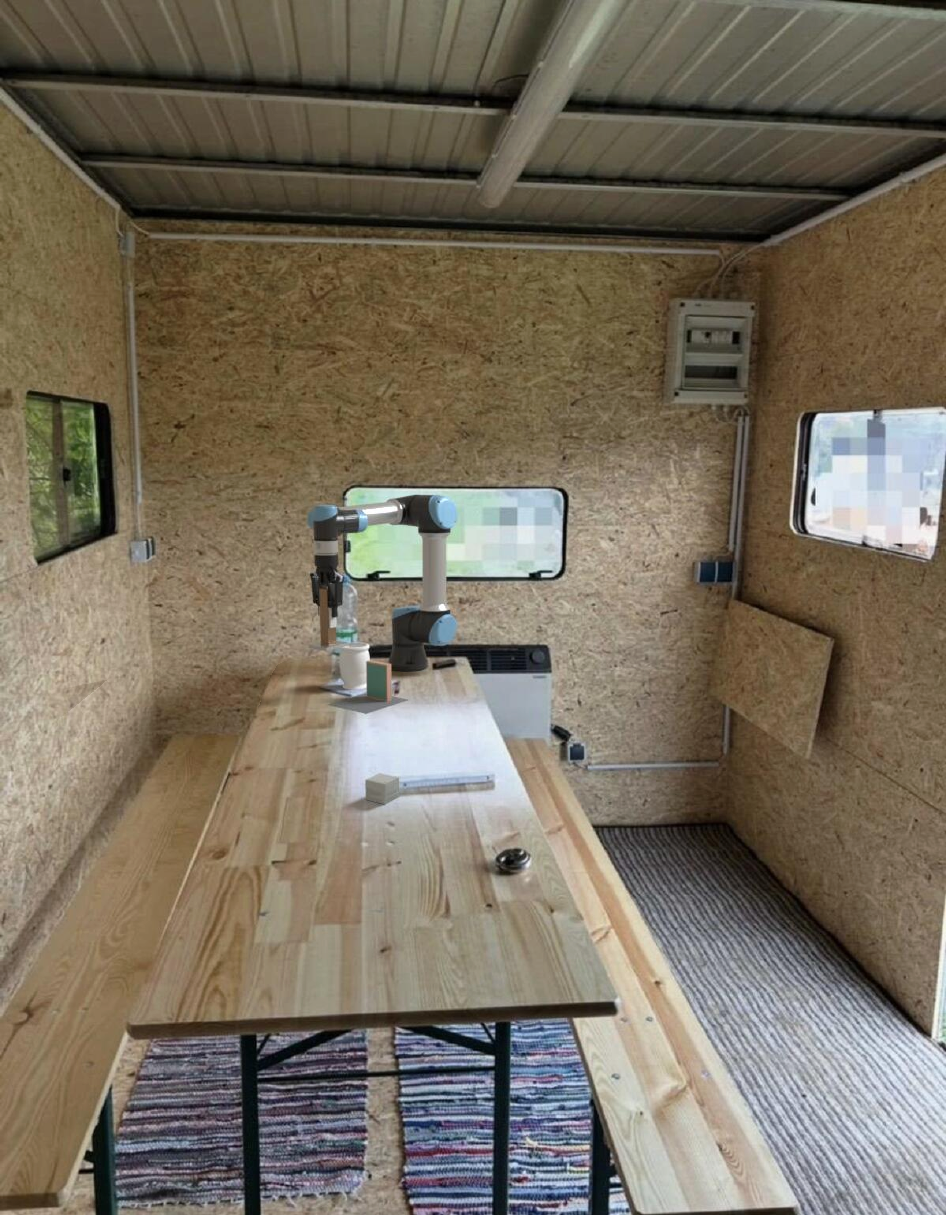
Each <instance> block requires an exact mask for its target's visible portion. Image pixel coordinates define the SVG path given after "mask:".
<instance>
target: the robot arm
mask: <svg viewBox="0 0 946 1215" xmlns="http://www.w3.org/2000/svg"><path fill="white" fill-rule="evenodd" d="M457 509H458V508H457V506H456V504H455V502H454V501H453V500H452V499H451V498H450V497H449V496H445V495H440V494H410V495H405V496H401V497H395V498H389V499H387V500H386V501H384V502H375V503H366V504H357V505H348V506H337V505H335V504H317V505H315V506H313V509H311V510H310V511H309V512H308V514H307V517H306V518H307V519H306V520H307V526H308V527H309V528H310V529H311V530H313V551H314V553H315V554H314V558H313V559H314V560H313V562H314V566H315V567H316V569H315V571H314V572H310V573H309V577H310V581H311V591H312V596H311V597H312V603H313V604H316V606H317V614H318V616H319V619H320V596H319V589H320V588H327V587H328V594H329V600H330V606H329V628H333V627H336V628H337V627H338V624H337V622H338V621H337V618H338V610H339V609H338V608H339V607H341V606H343V603H344V602H343V598H344V596H343V595H344V593H343V592H344V588H343V587H344V580H345V575H344V574H340V573H339V570H338V569H337V568H338V566H339V555H338V554H337V553H339V539H338V538H339V535H345V534H358V533H359V534H360V533H363V532H365V531H367V529H368V526H370V527H371V526H378V525H385V524H386V525H387V524H389V525H390V526H408V527H409V526H410V527H415V528H417V533H418V535H419V536H420V537H421V538H422V539H421V540H422V541H421V542H422V546H421V548H422V551H421V552H422V603H421V605H409V606H408V605H407V606H401V607H396V608H394V609H393V610H392V612H391V613H392V615H391V616H392V617H391V628H392V629H391V634H392V635H391V636H392V648H391V651H390V654H389V659H388V661H387V663H389V664H391V671H392V670H393V671H400V672H417V671H422V670H425V669H427V668H429V660H428V658H427V654H426V650H425V647H424V644H427V645H431V646H435V647H436V646H437V647H438V646H440V647H443V646H446V645H448V644H449V643H451V642H452V641H453V639H455V636H456V633H457V630H458V623H457V619H456V618H455V617H454V616H453V615H452V614H451V607H450V606H449V605H448V604H447V538H448V537H449V535H450V534H451V533H452V532H451V529H452V528H453V527H454V526H455V525H456V523H457V521H458V510H457Z"/></svg>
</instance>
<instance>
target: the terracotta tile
mask: <svg viewBox="0 0 946 1215" xmlns="http://www.w3.org/2000/svg"><path fill="white" fill-rule="evenodd" d="M366 685H367V687H366V693H367V697H368V698H372V699H377V700H382V701H386V702H388V701H391V700H392V696H393V692H392V669H391V664H389V663H388V662H381V661H378V660H377V661H376V660H371V659H370V660H369V661H366Z"/></svg>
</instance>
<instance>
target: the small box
mask: <svg viewBox="0 0 946 1215" xmlns="http://www.w3.org/2000/svg"><path fill="white" fill-rule="evenodd" d="M364 783H365V800H366V801H369V802H375V803H376V804H377V803H378V804H382V805H387V804H389V803H390V802H393V801H394V800H396V799H399V797H400V777H399V776H394V775H389V774H384V773H382V772H381V773H377V774H374V775H373V776H371V777H369V778H367V779H365V782H364Z"/></svg>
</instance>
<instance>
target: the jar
mask: <svg viewBox="0 0 946 1215" xmlns="http://www.w3.org/2000/svg"><path fill="white" fill-rule="evenodd" d="M348 643H349V646H345V647H341V648H338V649H339V650H340V652H339V655H338V666H339V667H338V668H339V672H340V677H341V680H342V682H343V685H342V688H343V689H345V690H354V691H356V690H365V689H367V681H366V661H369V660H371V659H370V652H369V649H370V644H369V643H367V642H357V641H355V642H354V641H353V642H348Z"/></svg>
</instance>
